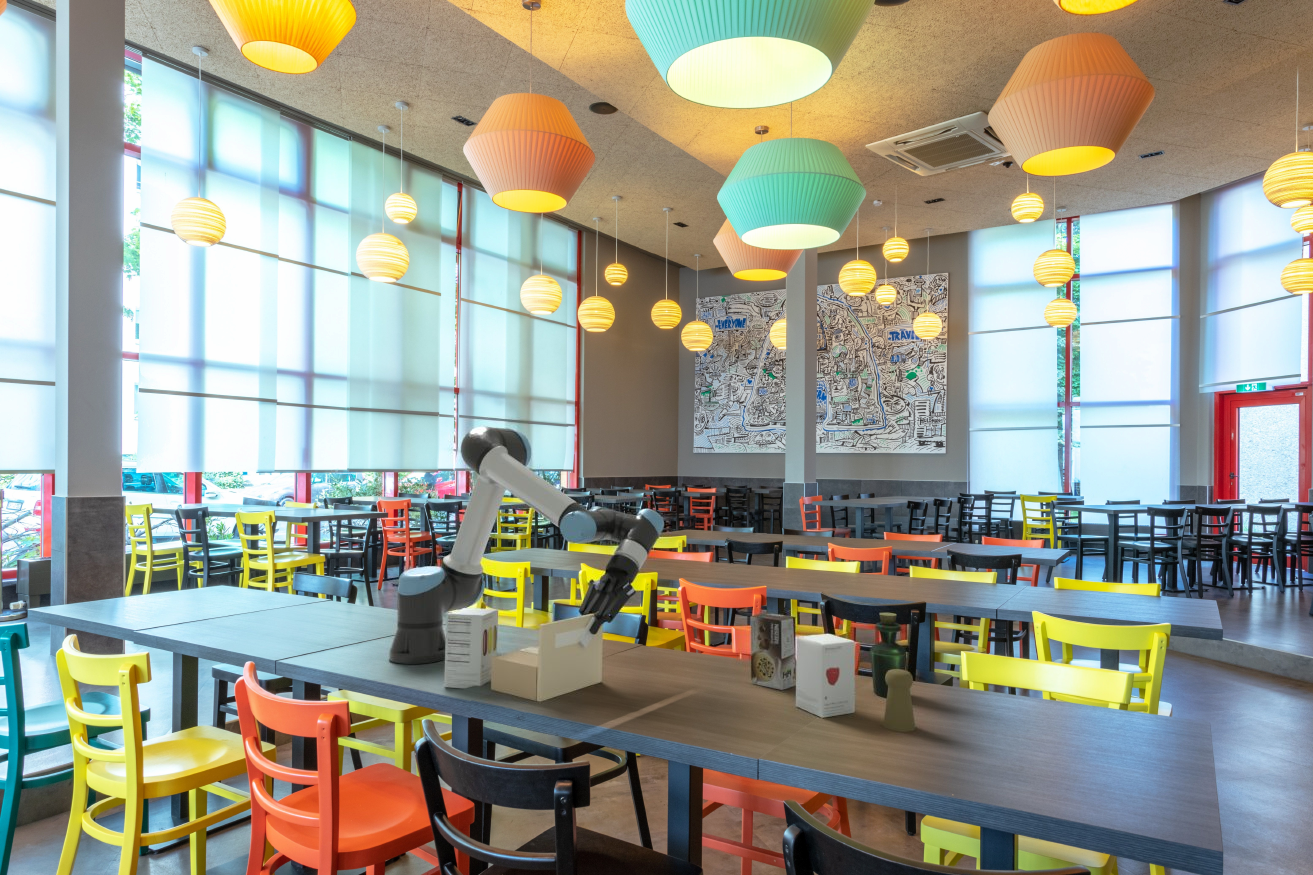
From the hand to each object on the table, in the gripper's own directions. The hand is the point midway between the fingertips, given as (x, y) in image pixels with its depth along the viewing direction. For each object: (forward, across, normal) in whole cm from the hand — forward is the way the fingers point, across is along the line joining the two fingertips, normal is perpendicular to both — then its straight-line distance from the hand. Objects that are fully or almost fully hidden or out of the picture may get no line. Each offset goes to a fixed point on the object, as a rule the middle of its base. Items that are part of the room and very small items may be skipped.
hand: (578, 643), depth 171 cm
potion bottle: (-23, -56, -39) cm, 71 cm away
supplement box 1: (+15, +25, -2) cm, 29 cm away
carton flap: (+9, 0, -6) cm, 10 cm away
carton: (+9, +8, -6) cm, 14 cm away
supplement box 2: (-9, -49, -24) cm, 55 cm away
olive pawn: (-8, -65, -24) cm, 70 cm away
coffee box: (-17, -31, -32) cm, 48 cm away
